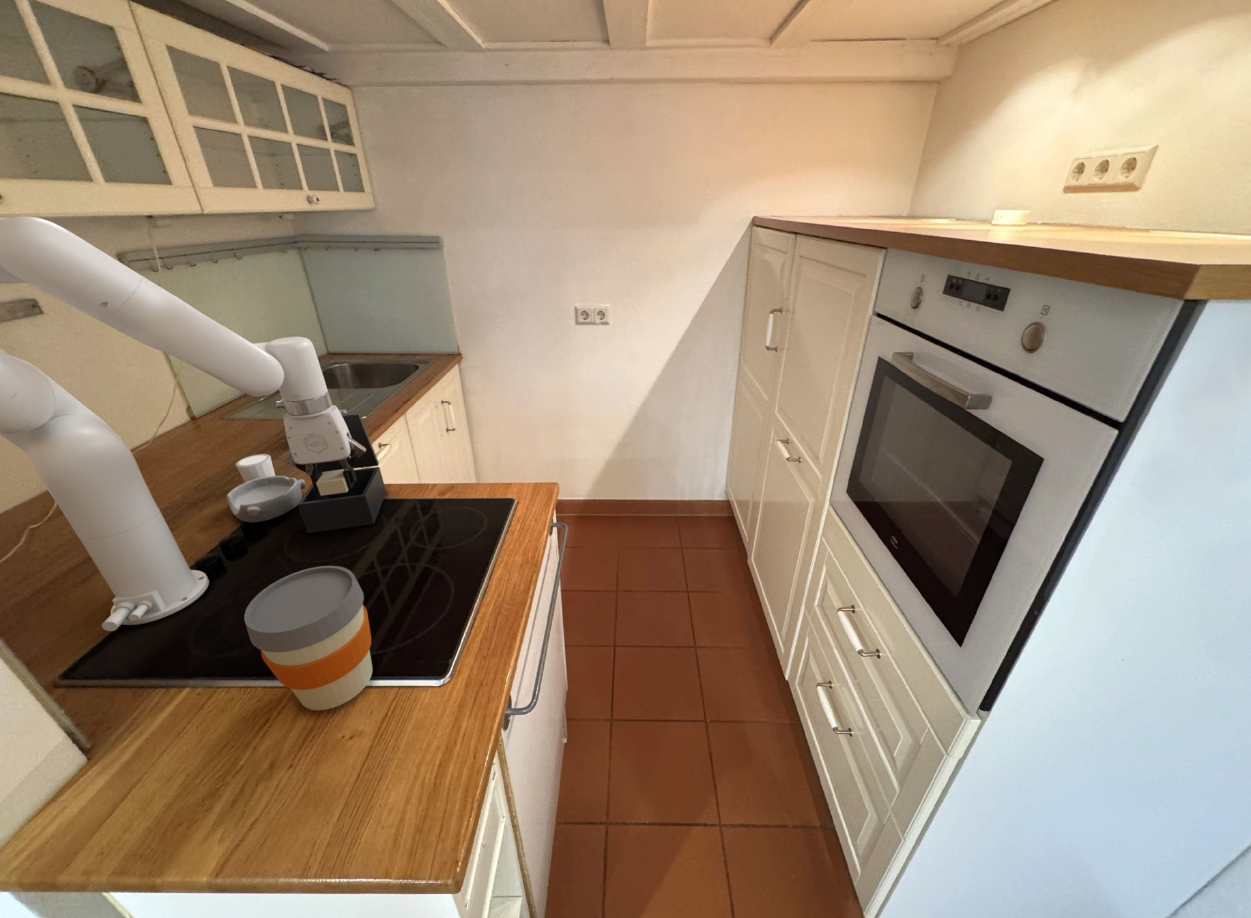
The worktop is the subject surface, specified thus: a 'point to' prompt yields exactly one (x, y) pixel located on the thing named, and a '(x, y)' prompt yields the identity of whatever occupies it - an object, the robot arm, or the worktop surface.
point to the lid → (359, 436)
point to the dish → (265, 498)
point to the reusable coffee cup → (314, 635)
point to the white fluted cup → (255, 467)
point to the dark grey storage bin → (344, 504)
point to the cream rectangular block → (332, 483)
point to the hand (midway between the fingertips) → (336, 486)
